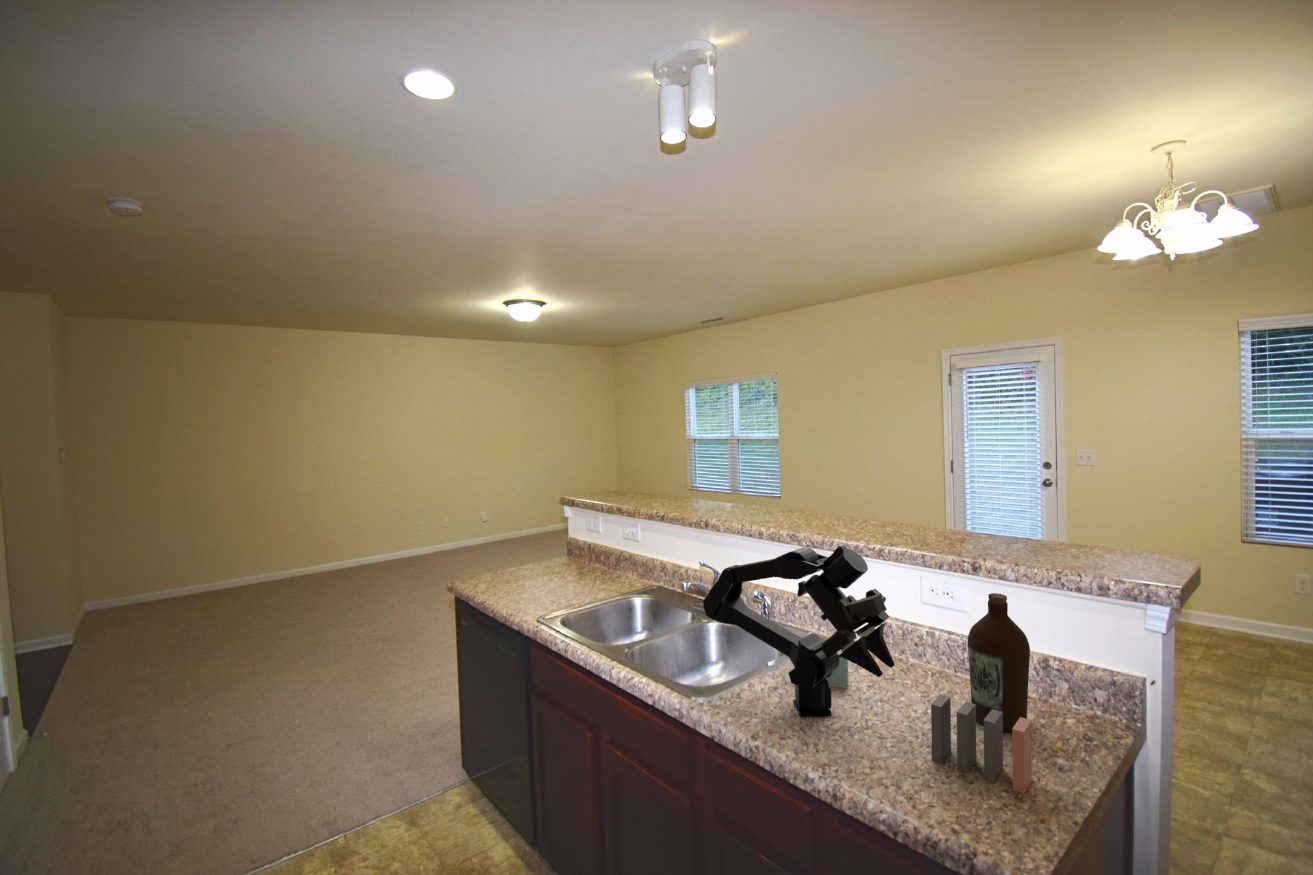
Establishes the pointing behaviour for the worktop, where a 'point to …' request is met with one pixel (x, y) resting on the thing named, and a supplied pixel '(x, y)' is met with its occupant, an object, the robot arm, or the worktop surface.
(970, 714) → the domino
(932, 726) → the domino
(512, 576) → the worktop surface
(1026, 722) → the domino
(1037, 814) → the worktop surface
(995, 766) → the domino
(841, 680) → the right angle wall
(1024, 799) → the worktop surface
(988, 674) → the olive oil
